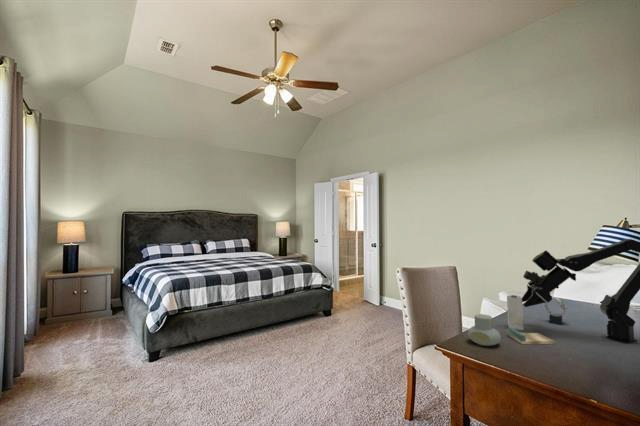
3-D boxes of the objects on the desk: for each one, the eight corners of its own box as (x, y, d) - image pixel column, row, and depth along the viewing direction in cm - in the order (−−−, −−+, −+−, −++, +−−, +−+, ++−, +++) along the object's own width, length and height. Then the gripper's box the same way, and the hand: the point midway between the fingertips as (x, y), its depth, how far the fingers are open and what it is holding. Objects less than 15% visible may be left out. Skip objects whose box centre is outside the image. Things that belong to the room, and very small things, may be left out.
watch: (567, 325, 133) (566, 300, 134) (544, 322, 138) (543, 297, 139) (568, 322, 137) (566, 297, 138) (546, 319, 143) (544, 295, 143)
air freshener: (504, 344, 114) (502, 316, 114) (497, 350, 108) (495, 321, 108) (473, 337, 122) (471, 311, 122) (465, 342, 116) (463, 315, 116)
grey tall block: (521, 326, 133) (520, 295, 133) (523, 330, 128) (521, 297, 129) (508, 325, 135) (506, 294, 136) (509, 328, 131) (507, 296, 131)
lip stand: (538, 335, 122) (538, 327, 122) (555, 344, 113) (554, 335, 113) (507, 335, 122) (507, 327, 123) (521, 343, 113) (521, 335, 114)
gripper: (532, 262, 138) (504, 285, 142) (540, 267, 121) (508, 293, 125) (555, 281, 134) (525, 304, 138) (566, 289, 117) (532, 315, 121)
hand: (522, 303), depth 131 cm, fingers open, 9 cm apart
